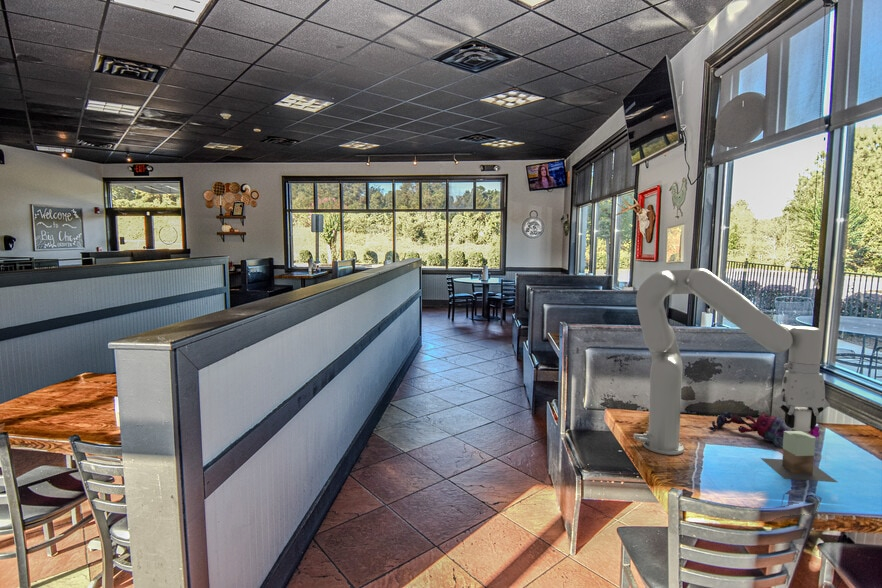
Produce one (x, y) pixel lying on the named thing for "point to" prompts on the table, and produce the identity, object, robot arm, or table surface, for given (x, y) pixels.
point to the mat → (786, 474)
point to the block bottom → (798, 463)
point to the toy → (761, 426)
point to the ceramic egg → (802, 419)
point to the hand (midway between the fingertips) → (799, 426)
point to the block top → (799, 443)
